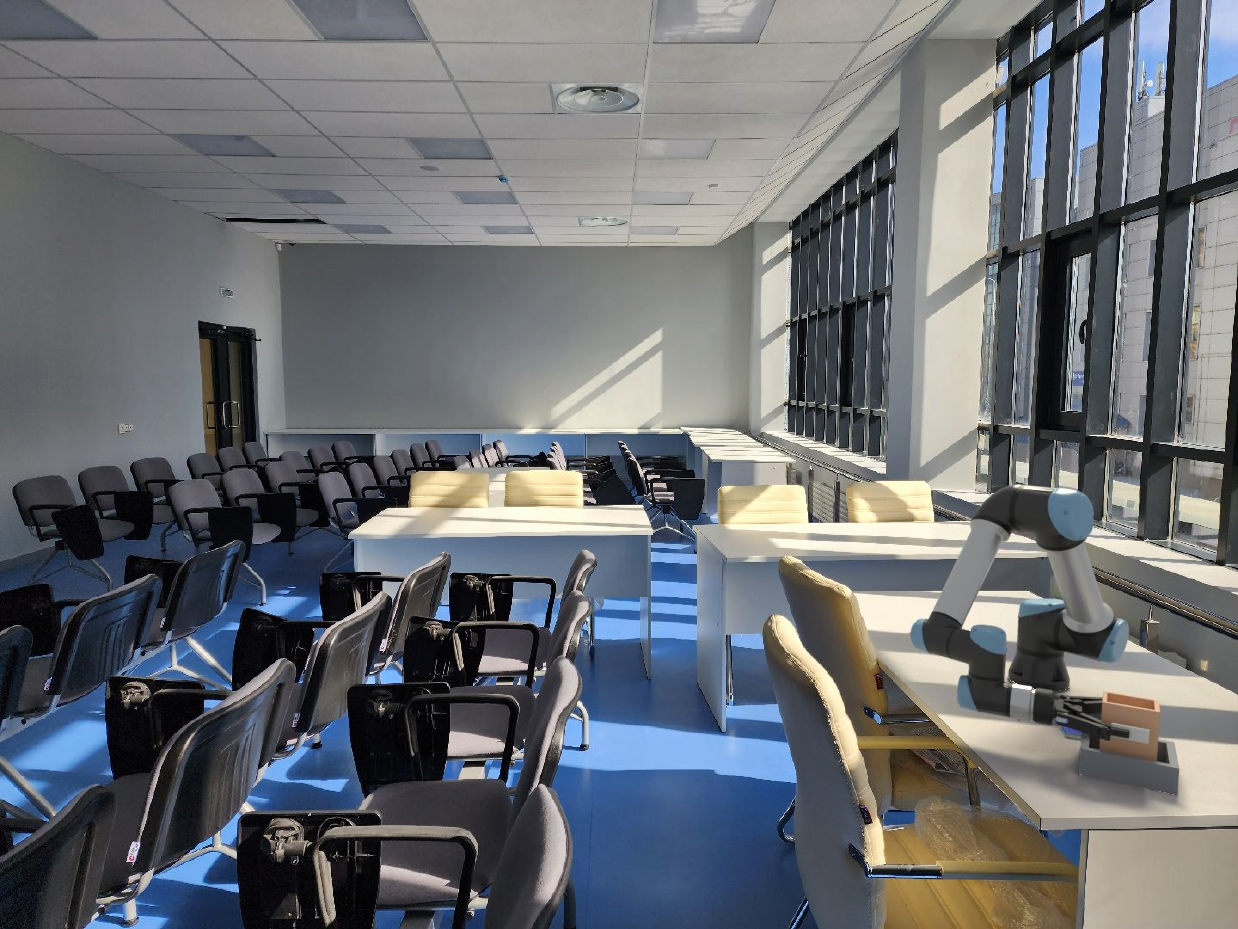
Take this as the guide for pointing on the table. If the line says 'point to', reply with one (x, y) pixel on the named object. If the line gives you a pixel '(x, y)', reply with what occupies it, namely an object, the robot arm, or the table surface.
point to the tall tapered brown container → (1131, 723)
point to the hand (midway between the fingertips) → (1148, 725)
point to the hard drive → (1071, 732)
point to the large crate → (1131, 766)
